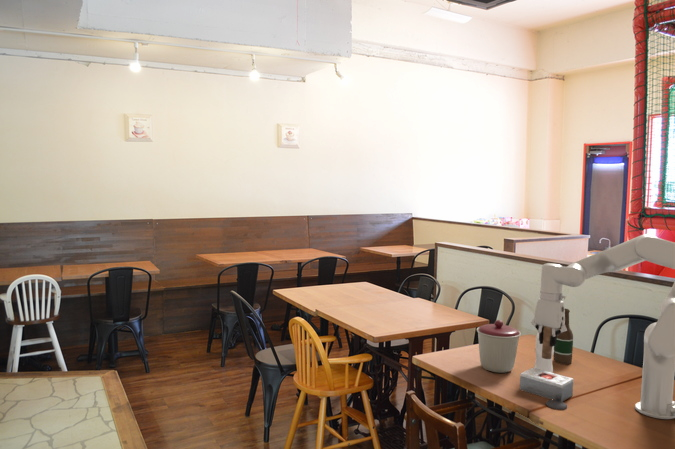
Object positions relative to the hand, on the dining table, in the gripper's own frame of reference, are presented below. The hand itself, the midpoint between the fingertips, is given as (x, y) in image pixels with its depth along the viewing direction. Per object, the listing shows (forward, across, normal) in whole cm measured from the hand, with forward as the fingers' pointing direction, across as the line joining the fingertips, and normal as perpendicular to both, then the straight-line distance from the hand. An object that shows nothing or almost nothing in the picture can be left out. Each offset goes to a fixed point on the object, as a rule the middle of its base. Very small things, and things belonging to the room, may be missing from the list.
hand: (547, 344), depth 204 cm
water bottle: (+19, +7, -15) cm, 25 cm away
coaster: (+19, -9, +9) cm, 22 cm away
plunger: (+15, -1, 0) cm, 15 cm away
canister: (+19, +25, -10) cm, 33 cm away
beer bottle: (+19, +10, -41) cm, 47 cm away
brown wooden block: (+5, 0, 0) cm, 5 cm away
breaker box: (+19, -1, 0) cm, 19 cm away
